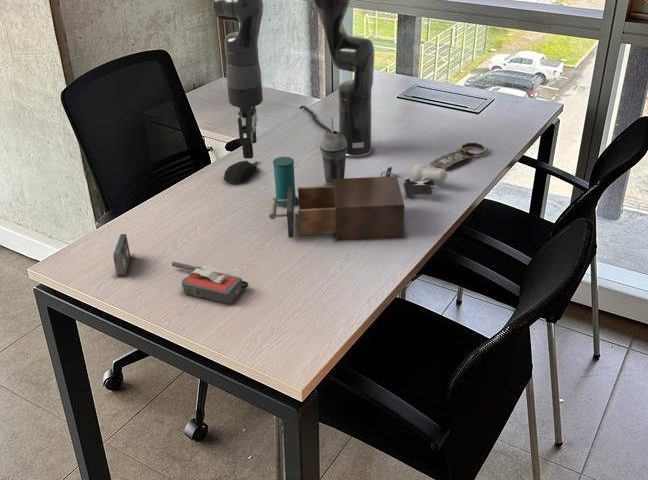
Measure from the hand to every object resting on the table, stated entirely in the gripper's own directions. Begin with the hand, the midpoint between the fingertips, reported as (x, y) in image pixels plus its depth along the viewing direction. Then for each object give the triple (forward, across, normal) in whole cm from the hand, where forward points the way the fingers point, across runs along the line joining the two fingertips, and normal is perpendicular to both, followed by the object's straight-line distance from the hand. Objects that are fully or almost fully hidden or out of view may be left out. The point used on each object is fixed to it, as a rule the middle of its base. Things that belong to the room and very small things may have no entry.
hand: (250, 150), depth 168 cm
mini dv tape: (+20, +18, -28) cm, 39 cm away
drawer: (+19, +1, +13) cm, 23 cm away
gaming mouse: (+20, -28, -6) cm, 35 cm away
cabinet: (+20, +1, +27) cm, 33 cm away
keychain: (+19, -35, +55) cm, 68 cm away
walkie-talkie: (+20, +26, -9) cm, 34 cm away
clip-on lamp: (+20, -18, +39) cm, 47 cm away
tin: (+20, -11, +7) cm, 23 cm away
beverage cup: (+20, -19, +19) cm, 34 cm away
